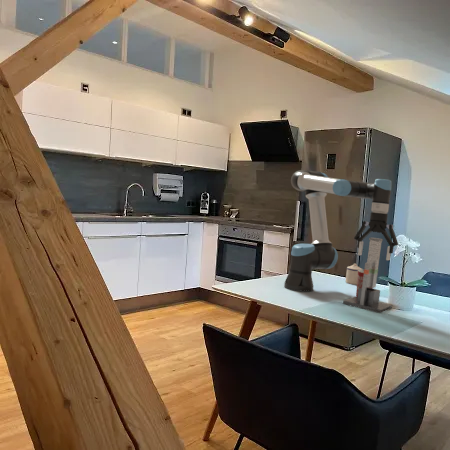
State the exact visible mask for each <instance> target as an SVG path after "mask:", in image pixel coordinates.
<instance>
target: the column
mask: <svg viewBox="0 0 450 450" xmlns="http://www.w3.org/2000/svg"><path fill="white" fill-rule="evenodd" d="M368 239H369V246H368V254H367V261H366V263H370V267H369V275H368V283H367V287H370V288H373V289H375V288H376V286H377V280H378V273H379V265H380V264H379V263H380V256H381V255H380V254H381V249H382V242H383V238H379V237H378V238H377V237H369V238H368Z"/></svg>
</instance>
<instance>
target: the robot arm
mask: <svg viewBox="0 0 450 450" xmlns="http://www.w3.org/2000/svg"><path fill="white" fill-rule="evenodd" d="M291 175H292V176H291V179H290V183H291V184H290V185H291V186H292V187H293V189H295V190H297V191H299V192H304V193H305V194H304V195H305V198H306V199H308V206H309V216H310V227H311V229H310V230H311V236H312V237H311V238H312V242H311V243H297V244H294V245H293V246H292V247H291V252H290V255H291V256H290V261H289V271H288V274H287V277H286V279H285V281H284V283H283V284H284V285H283V286H284V288H285V289H288V290H291V291H298V292H313V291H314V282H313V278H312V273H313V270H321V269H322V270H329V269H332V268H334V267H335V266H336V264H337V263H338V259H339V253H338V251H337V250H336V248H335V247H333V242H331V241H330V239H329V238H330V237H329V231H328V219H327V211H326V202H325V200H326V199H325V198H326V197H327V195H328V194H333V195H336V196H339V197H340V196H341V197H349V198H350V197H351V198H358V199H368V200H369V199H371V200H372V202H371V212H370V217H369V221H367V220H363V221H362V225H361V226H360V228H359V230H358V231H357V233H356V234H355V236H354V240H356V241H357V245H356V247H357V249H358V253H357V256H362V255H363V247H364V241H363V240H364V239H366V237H368V236H369V235H370V234H371V233H372V232H373V233H379V234H382V236H383V237H384V239H385V240H386V242H387V244H388V246H387V249H386V258H385V260H386V261H390V260H391V254H394V248H395V246H399V241H398V239H397V236H396V233H395V231H394V230H395V229H394V224H387V223H388V217H389V216H388V213H389V209H390V199H391V194H392V193H391V192H392V182H393V181H392V180H390V179H384V178H375V180H374V182H366V181H365V182H364V181H355V180H349V179H344V178H343V179H342V178H336V177H335V178H333V177H329V176H328V174H326V173H324V172H321V171H313V170H307V169H300V170H296V171H295V172H293V173H292V174H291ZM368 226H369V228H368V229H367V230H366V231H365V229H366V228H367V227H368ZM386 229H388V231H389V234H390V236H389V234H388V232H387V230H386ZM364 231H365V232H364ZM363 232H364V233H363Z"/></svg>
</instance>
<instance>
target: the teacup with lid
mask: <svg viewBox="0 0 450 450" xmlns="http://www.w3.org/2000/svg"><path fill="white" fill-rule="evenodd" d="M358 270H363V268H361V267H360V266H358V264H357V263H353V264H352V265H350V266H349V265H348V266H347V267H346V274H345V283H346V284H350V285H355V286H357V278H358Z"/></svg>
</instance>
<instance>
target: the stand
mask: <svg viewBox="0 0 450 450" xmlns="http://www.w3.org/2000/svg"><path fill="white" fill-rule="evenodd" d="M369 267H370V263H367V262H365V263H364V269H363V270H364V277H363V284H362V288H359V289H358V297H356V296H354V297H351V298H347V299H343V300H342V304H343V305H347V306H350V305H351V307H354V306H355V307H354V308H359V309H362V310H363V309H364V310H367V311H371V312H375V313H379V314H382V313H383V312H386V311H388V310H391V309H393V305H392V304H390V303H389V304H388V303H386V302H385V303H384V302H380V295H381V290H380V289H376V288H373V289H372V288H368V287H367V283H368V275H369Z"/></svg>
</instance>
